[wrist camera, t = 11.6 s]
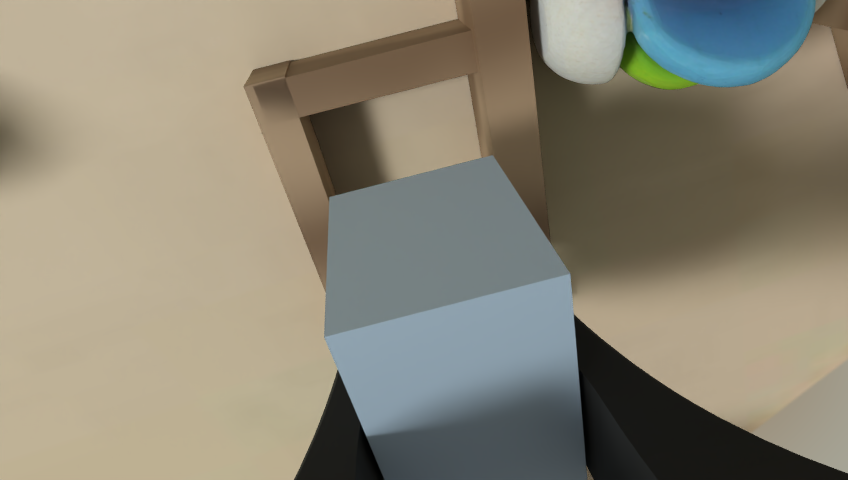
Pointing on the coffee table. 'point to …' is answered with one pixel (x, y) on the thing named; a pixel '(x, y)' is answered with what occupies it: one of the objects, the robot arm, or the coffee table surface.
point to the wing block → (454, 329)
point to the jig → (414, 67)
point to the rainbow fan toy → (670, 39)
